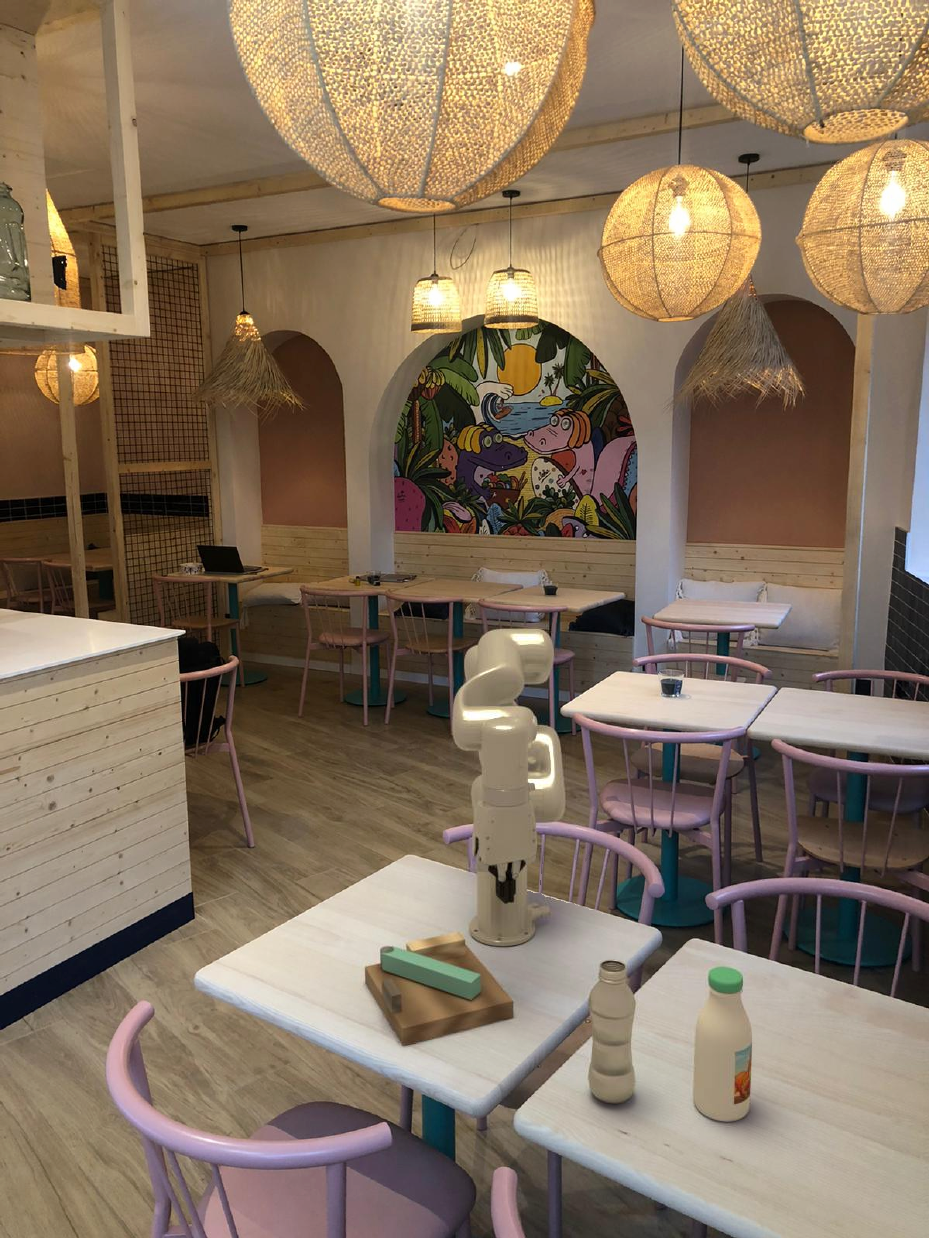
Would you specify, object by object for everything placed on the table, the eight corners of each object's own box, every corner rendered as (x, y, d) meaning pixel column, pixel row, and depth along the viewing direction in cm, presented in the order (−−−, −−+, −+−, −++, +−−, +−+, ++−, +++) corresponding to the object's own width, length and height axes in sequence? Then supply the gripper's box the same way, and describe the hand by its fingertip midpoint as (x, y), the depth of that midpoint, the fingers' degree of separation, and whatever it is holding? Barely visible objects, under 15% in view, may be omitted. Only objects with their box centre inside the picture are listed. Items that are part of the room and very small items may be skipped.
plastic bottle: (634, 1112, 136) (637, 980, 132) (585, 1106, 137) (587, 975, 134) (635, 1083, 142) (638, 956, 139) (589, 1078, 144) (590, 952, 140)
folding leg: (376, 967, 168) (376, 951, 168) (387, 959, 171) (386, 943, 170) (471, 999, 158) (471, 982, 158) (480, 991, 161) (480, 974, 160)
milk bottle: (715, 1129, 132) (720, 994, 129) (681, 1096, 139) (685, 966, 136) (761, 1114, 135) (767, 981, 132) (725, 1081, 142) (730, 954, 139)
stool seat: (465, 959, 177) (465, 928, 176) (513, 1017, 159) (513, 983, 158) (364, 982, 170) (363, 950, 169) (401, 1046, 152) (400, 1010, 151)
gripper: (535, 780, 165) (535, 883, 168) (453, 793, 159) (455, 898, 162) (556, 794, 158) (556, 900, 161) (471, 807, 152) (473, 918, 155)
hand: (505, 899), depth 162 cm, fingers closed
